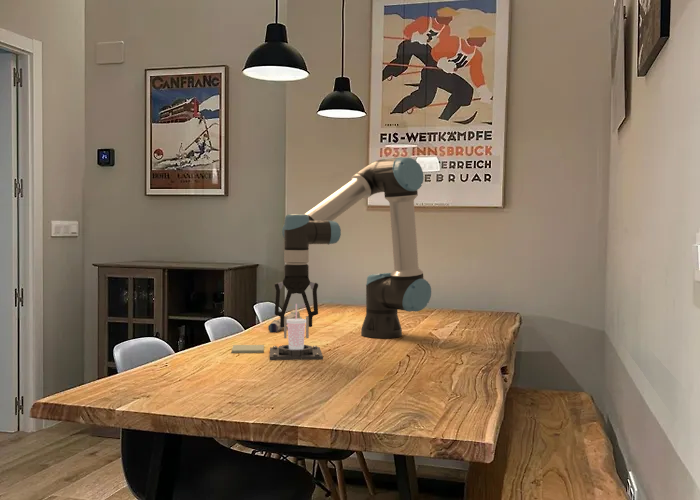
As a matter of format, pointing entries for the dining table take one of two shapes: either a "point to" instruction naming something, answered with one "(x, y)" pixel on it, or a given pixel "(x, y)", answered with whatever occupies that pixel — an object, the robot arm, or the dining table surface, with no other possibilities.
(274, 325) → the tan tube
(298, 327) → the beverage cup
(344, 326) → the dining table surface
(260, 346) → the pad
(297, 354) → the flange
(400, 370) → the dining table surface
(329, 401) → the dining table surface
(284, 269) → the robot arm
